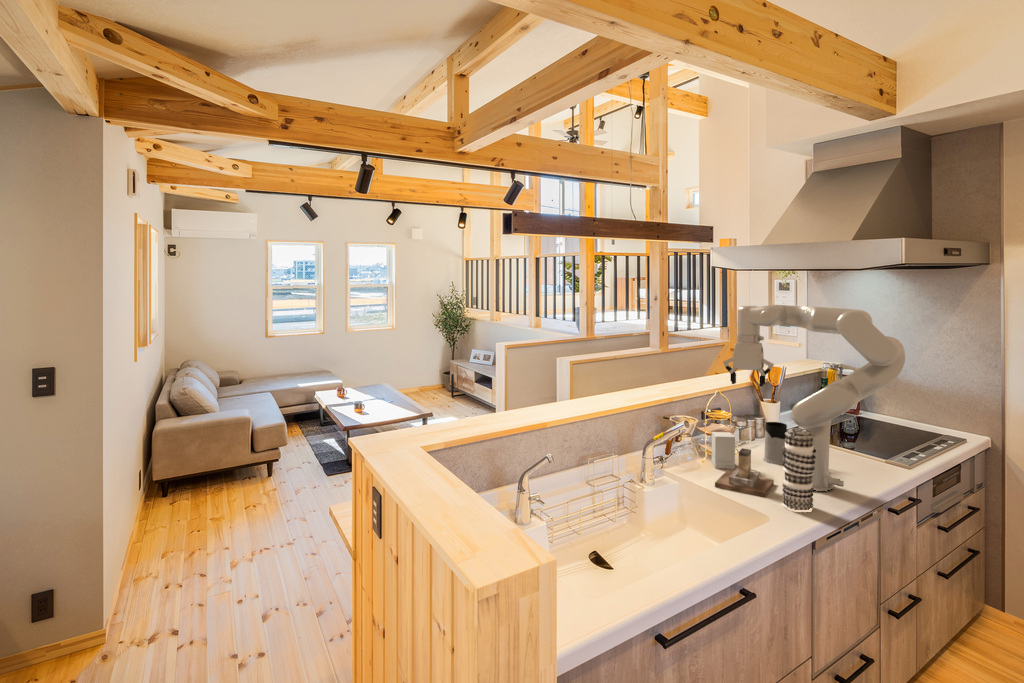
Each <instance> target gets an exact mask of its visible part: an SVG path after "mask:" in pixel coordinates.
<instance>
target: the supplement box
mask: <svg viewBox="0 0 1024 683" xmlns="http://www.w3.org/2000/svg"><path fill="white" fill-rule="evenodd" d="M735 448H736V437H735V435H734V434H733V433H732V432H725V431H724V432H723V431H712V432H711V464H712V466H713V467H714V468H715V469H725V468H727V470H730V469H731V470H734V469H735V468H736V467H735V464H736V463H735V462H736V461H735V460H736V459H735V458H736V456H735V455H736V449H735Z"/></svg>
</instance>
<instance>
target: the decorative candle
mask: <svg viewBox="0 0 1024 683" xmlns="http://www.w3.org/2000/svg"><path fill="white" fill-rule="evenodd" d="M785 434H786V442H785V445H784V446H782V450H783V452H782V454H783V456H784V457H783V461H784V462H783V464H782V466H783V468H782V470H783V472H784V477H783V483H782V495H781V496H782V497H781V498H782V499H781V501H782V505H783V506H784V507H786V508H790V509H794V510H809V509H810V508H813V507H814V498H813V496H814V491H813V490H814V489H813V487H812V485H813V483H812V475H813V474H814V471H813V470H814V469H815V468H814V467H813V466H812V465H813V464H815V461H814V460H812V459H815V458H816V457H815V456H814V455H812V452H813V453H815V452H816V450H815V449H814V446H813V437H815V436H814V435H813V434H812V433H811V432H810V431H809V430H807V429H803V428H798V427H792V428H788V429H787V432H785ZM785 448H786V449H785ZM785 452H786V454H785ZM785 459H786V460H785ZM783 506H782V507H783ZM784 507H783V508H784Z"/></svg>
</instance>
